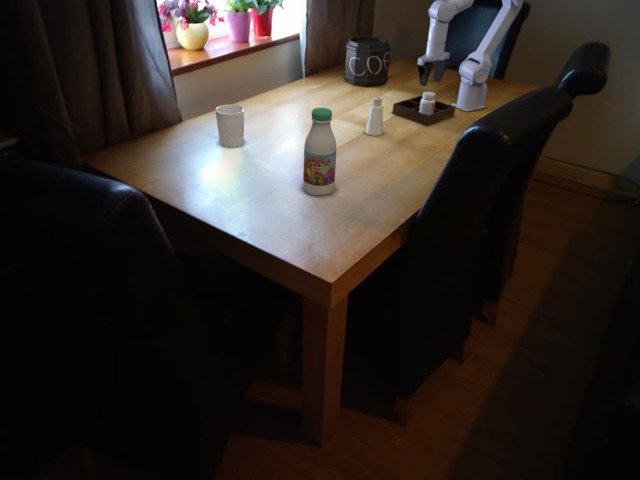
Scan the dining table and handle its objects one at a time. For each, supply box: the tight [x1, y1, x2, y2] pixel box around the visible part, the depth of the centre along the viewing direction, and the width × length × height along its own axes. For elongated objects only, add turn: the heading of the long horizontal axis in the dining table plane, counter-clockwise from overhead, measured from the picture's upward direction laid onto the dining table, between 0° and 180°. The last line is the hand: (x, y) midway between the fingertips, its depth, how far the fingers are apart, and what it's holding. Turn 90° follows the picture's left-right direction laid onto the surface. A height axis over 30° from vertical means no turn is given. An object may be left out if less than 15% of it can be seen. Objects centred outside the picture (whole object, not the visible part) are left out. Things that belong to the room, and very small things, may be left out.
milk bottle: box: [302, 107, 337, 196], centre depth 119 cm, size 8×8×20 cm
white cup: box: [215, 104, 245, 148], centre depth 144 cm, size 8×8×10 cm
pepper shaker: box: [364, 96, 384, 137], centre depth 154 cm, size 5×5×11 cm
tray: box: [392, 95, 456, 127], centre depth 171 cm, size 15×15×3 cm
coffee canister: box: [344, 35, 392, 88], centre depth 198 cm, size 18×18×16 cm
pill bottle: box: [419, 91, 437, 115], centre depth 165 cm, size 5×5×8 cm
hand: (429, 83), depth 171 cm, fingers open, 7 cm apart
